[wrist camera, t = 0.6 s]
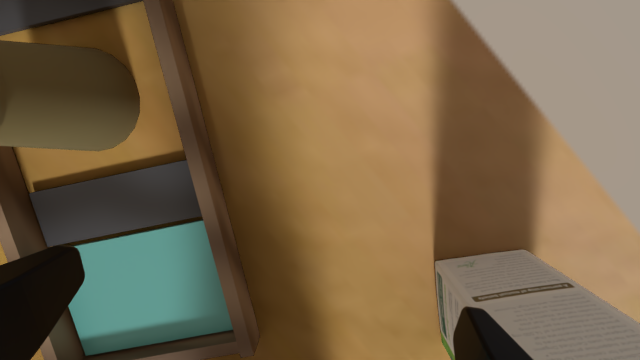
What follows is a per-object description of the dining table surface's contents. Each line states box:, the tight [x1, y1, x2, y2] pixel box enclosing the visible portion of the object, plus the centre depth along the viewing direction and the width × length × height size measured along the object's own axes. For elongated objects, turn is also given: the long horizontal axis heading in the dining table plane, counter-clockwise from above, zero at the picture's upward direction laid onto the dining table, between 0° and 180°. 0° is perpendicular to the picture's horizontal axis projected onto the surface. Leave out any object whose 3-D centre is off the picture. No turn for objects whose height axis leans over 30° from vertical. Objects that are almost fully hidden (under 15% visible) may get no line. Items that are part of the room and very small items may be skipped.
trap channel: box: [0, 0, 260, 360], centre depth 21 cm, size 26×13×2 cm, turn 12°
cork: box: [0, 40, 140, 151], centre depth 16 cm, size 6×6×11 cm
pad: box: [68, 219, 233, 356], centre depth 23 cm, size 7×10×1 cm
